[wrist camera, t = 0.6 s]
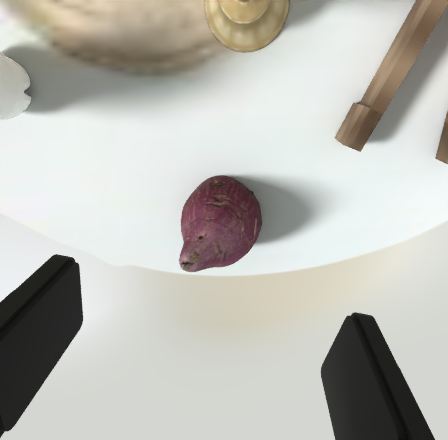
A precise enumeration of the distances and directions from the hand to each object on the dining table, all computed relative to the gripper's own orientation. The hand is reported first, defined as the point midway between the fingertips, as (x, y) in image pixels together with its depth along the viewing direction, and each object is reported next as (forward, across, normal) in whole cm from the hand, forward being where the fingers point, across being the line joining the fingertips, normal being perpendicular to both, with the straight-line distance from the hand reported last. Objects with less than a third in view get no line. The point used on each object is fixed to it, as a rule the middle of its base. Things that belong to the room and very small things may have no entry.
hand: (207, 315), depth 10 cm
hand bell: (+28, +2, -14) cm, 31 cm away
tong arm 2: (+27, -13, -13) cm, 33 cm away
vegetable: (+28, 0, +9) cm, 30 cm away
